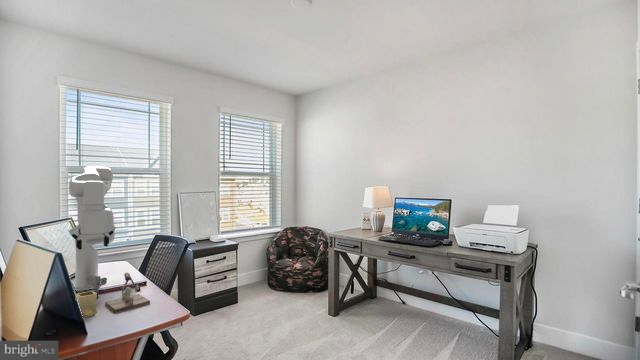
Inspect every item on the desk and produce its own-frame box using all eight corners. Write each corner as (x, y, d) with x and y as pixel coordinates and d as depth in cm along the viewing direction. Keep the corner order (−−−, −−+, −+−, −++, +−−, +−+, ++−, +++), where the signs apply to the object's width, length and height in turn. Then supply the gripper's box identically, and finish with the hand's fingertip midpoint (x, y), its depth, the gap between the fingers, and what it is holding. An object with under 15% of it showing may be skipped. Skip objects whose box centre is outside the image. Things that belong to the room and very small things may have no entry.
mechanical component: (102, 299, 148) (102, 278, 148) (84, 298, 150) (84, 277, 150) (107, 297, 151) (108, 276, 151) (90, 295, 153) (90, 275, 153)
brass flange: (73, 311, 135) (73, 292, 135) (90, 307, 140) (90, 288, 140) (80, 319, 127) (81, 299, 128) (98, 314, 132) (98, 295, 132)
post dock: (105, 305, 142) (105, 288, 142) (138, 297, 153) (139, 281, 153) (114, 313, 134) (115, 295, 134) (149, 303, 144) (150, 287, 144)
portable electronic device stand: (140, 291, 161) (140, 275, 161) (122, 294, 156) (122, 277, 156) (138, 286, 168) (139, 271, 168) (121, 289, 164) (121, 273, 164)
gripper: (113, 207, 149) (112, 244, 148) (67, 209, 135) (66, 249, 134) (118, 208, 144) (118, 245, 143) (71, 209, 130) (70, 251, 130)
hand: (93, 247), depth 139 cm, fingers open, 9 cm apart
